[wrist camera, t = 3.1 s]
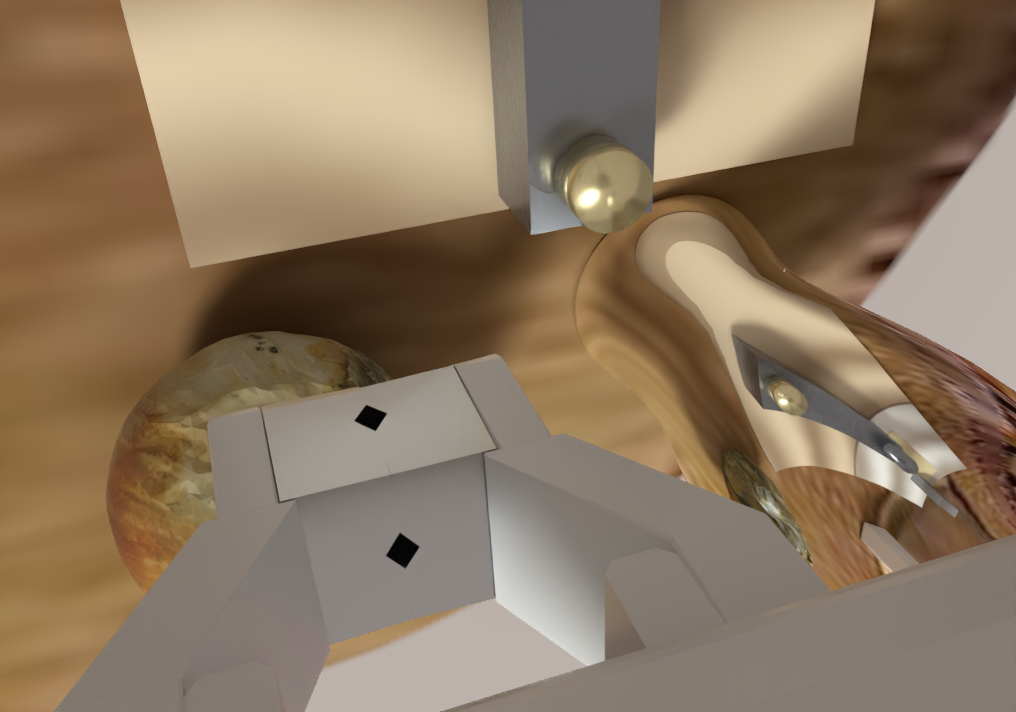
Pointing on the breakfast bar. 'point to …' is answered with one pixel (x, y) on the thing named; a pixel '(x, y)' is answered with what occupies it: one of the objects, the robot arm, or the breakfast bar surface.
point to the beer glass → (799, 395)
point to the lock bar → (575, 110)
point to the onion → (184, 434)
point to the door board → (444, 106)
